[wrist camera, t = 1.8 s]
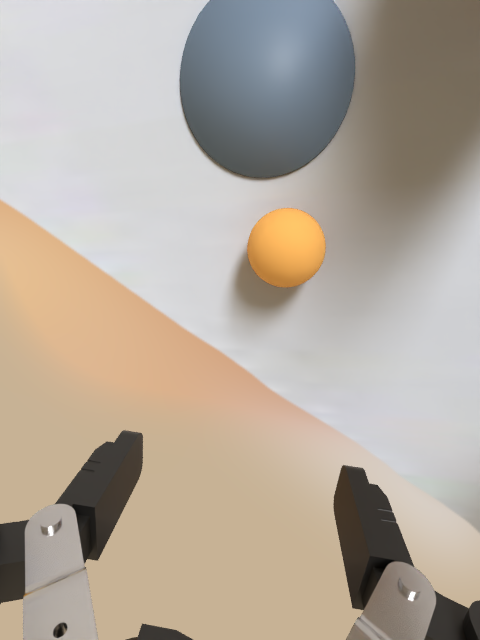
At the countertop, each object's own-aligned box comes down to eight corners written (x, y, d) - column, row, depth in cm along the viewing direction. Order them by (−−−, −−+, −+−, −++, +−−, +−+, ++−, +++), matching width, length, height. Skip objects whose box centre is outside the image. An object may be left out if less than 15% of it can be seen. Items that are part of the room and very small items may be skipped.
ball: (317, 201, 27) (325, 200, 22) (324, 273, 29) (334, 289, 23) (245, 214, 28) (236, 217, 23) (257, 282, 30) (250, 301, 25)
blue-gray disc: (347, -56, 22) (347, -58, 22) (360, 159, 26) (360, 159, 26) (162, 3, 24) (161, 1, 24) (200, 191, 28) (199, 191, 28)
